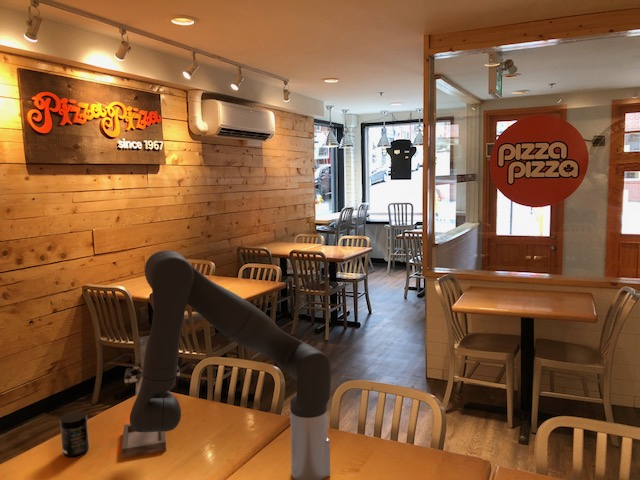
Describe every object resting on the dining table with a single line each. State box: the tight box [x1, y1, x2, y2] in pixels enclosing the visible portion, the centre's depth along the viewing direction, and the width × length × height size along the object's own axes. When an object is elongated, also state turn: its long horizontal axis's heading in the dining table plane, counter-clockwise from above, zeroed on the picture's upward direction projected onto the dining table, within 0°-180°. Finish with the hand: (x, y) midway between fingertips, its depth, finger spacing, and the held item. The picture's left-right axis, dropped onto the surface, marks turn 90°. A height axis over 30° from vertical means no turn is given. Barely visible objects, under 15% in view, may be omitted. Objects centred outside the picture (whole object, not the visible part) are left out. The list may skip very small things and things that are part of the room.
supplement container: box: [59, 410, 90, 459], centre depth 144 cm, size 7×7×10 cm
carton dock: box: [121, 423, 167, 458], centre depth 150 cm, size 11×14×2 cm
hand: (151, 364), depth 145 cm, fingers closed on coffee box, 6 cm apart
